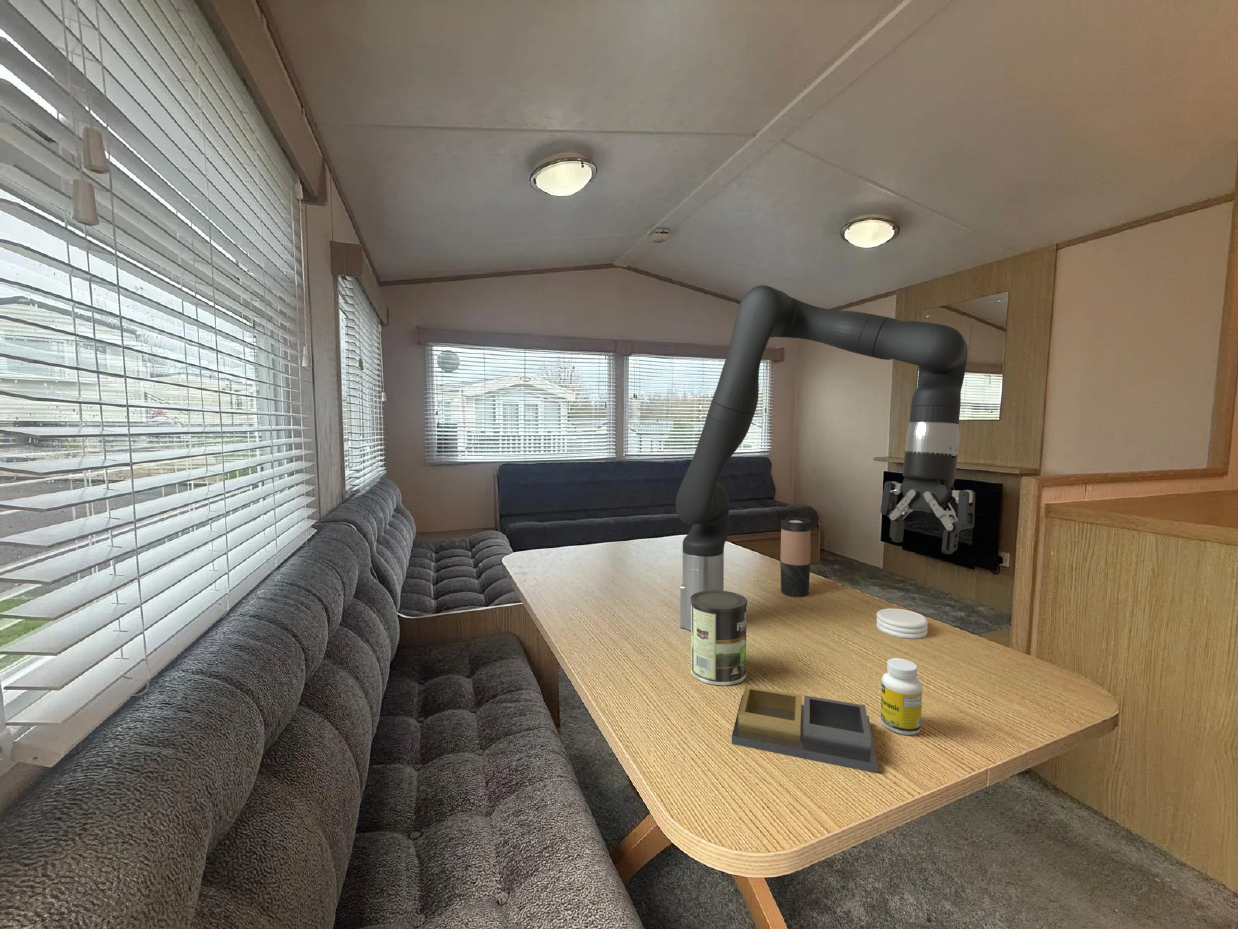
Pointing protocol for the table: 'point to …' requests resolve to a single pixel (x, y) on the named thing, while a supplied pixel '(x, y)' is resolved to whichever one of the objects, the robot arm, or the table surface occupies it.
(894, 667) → the supplement bottle
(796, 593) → the travel mug
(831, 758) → the two compartment tray
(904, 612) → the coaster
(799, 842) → the table surface
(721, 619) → the coffee can
